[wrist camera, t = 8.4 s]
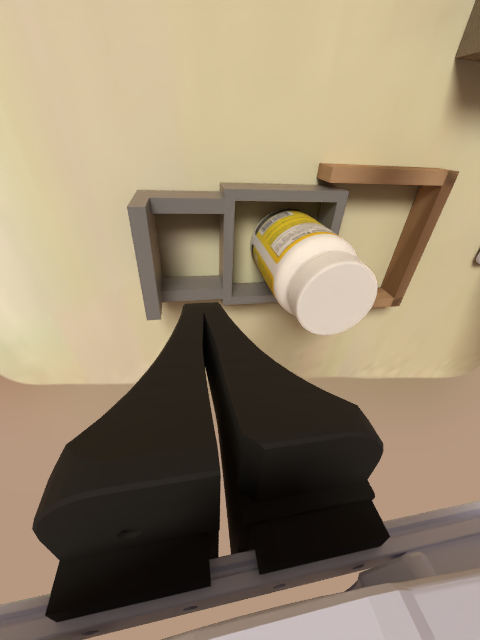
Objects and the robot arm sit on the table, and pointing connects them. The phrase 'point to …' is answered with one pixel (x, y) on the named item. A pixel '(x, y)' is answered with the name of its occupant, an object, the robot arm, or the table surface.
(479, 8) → the plunger housing
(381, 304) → the housing
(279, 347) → the table surface
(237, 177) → the table surface
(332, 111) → the table surface
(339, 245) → the supplement bottle
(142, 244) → the gray divided frame
